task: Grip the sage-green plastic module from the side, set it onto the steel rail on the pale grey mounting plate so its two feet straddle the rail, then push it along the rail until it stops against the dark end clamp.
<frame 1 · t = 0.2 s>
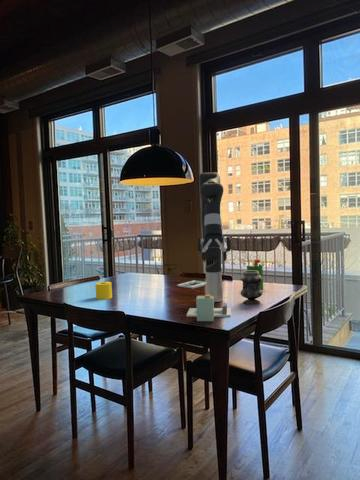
hand: (214, 261, 162), 31 cm above the table, tool tilted 20°, fingers open, 8 cm apart
yellow cylindrical piece: (104, 298, 239), on the table
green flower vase: (256, 289, 247), on the table
din plate: (211, 314, 191), on the table
module: (205, 319, 183), on the table
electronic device: (193, 286, 268), on the table
apothecary jar: (251, 303, 211), on the table
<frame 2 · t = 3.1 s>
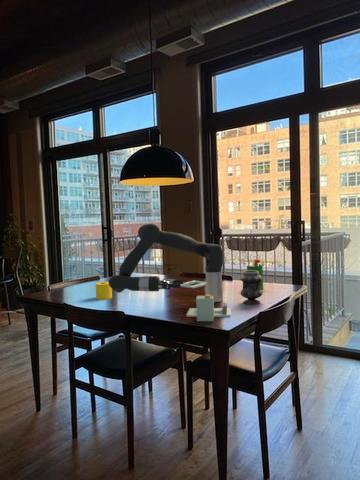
hand: (181, 283, 183), 18 cm above the table, tool horizontal, fingers open, 8 cm apart
nothing on the table moved.
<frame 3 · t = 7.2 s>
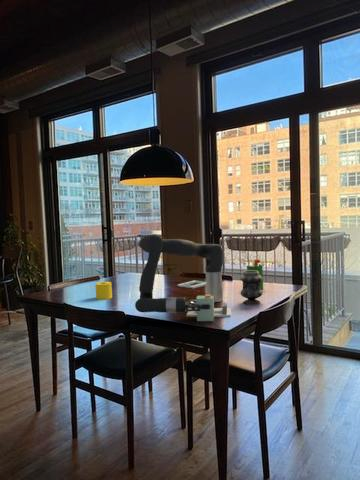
hand: (210, 305, 182), 7 cm above the table, tool horizontal, fingers closed on module, 6 cm apart
module: (205, 319, 183), on the table, touching gripper
everything else where it was.
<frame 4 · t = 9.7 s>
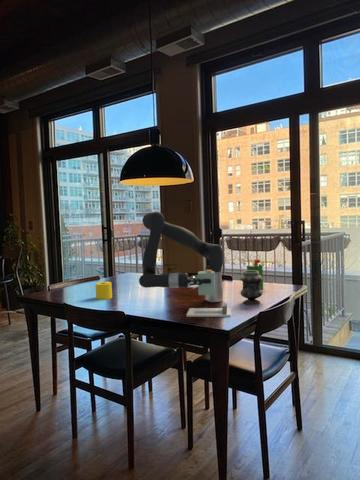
hand: (211, 279, 189), 18 cm above the table, tool horizontal, fingers closed on module, 6 cm apart
module: (206, 293, 190), point 11 cm above the table, touching gripper
everything else where it was.
when the fingers open (9 cm above the table, at t = 12.5 s): module stays where it is, resting on din plate.
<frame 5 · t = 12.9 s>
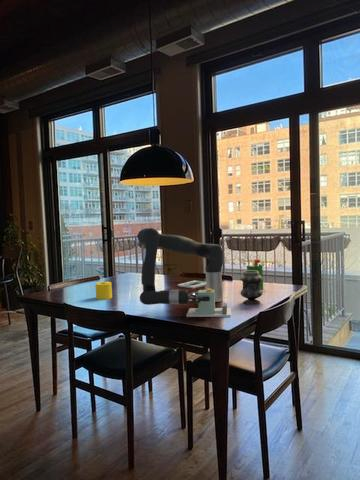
hand: (210, 296, 191), 9 cm above the table, tool horizontal, fingers open, 8 cm apart
module: (207, 312, 192), point 1 cm above the table, touching din plate
everything else where it was.
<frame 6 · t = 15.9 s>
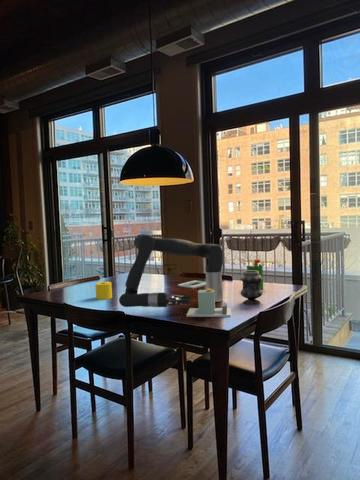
hand: (189, 299, 192), 8 cm above the table, tool horizontal, fingers open, 6 cm apart
nothing on the table moved.
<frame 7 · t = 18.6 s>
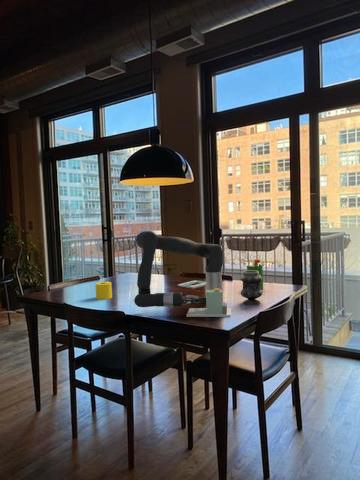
hand: (206, 299, 191), 8 cm above the table, tool horizontal, fingers closed
module: (214, 312, 191), point 1 cm above the table, touching din plate, gripper
everything else where it was.
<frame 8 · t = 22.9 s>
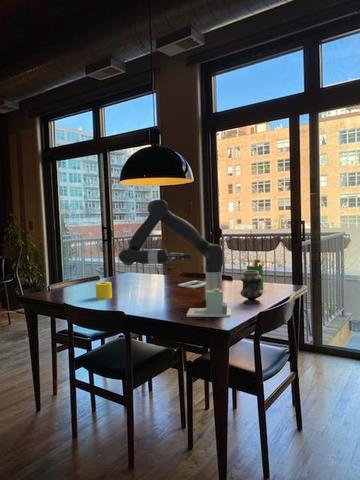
hand: (191, 256, 190), 30 cm above the table, tool horizontal, fingers closed
module: (214, 312, 191), point 1 cm above the table, touching din plate
everything else where it was.
at the end: module 0.6 cm from the target spot on the din plate, point 1.0 cm above the din plate's base; module tilted 0°; the gripper is holding nothing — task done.
